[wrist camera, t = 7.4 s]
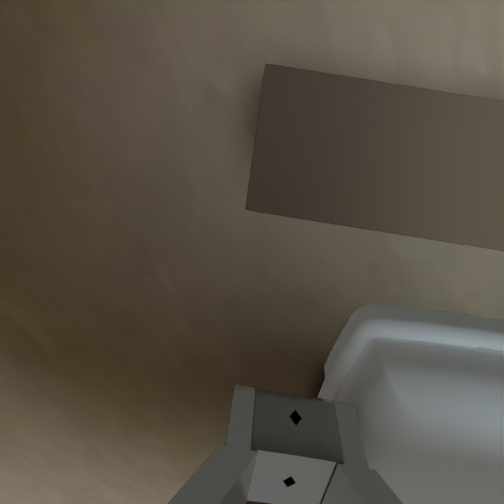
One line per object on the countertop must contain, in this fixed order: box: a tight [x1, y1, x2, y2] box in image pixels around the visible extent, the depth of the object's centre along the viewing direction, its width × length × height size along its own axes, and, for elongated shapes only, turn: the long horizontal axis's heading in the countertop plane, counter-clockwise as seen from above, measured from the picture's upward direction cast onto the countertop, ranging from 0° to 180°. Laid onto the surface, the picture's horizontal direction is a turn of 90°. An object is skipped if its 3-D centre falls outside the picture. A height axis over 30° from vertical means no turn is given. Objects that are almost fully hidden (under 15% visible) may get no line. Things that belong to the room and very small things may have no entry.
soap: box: [317, 304, 504, 504], centre depth 10 cm, size 9×7×3 cm
